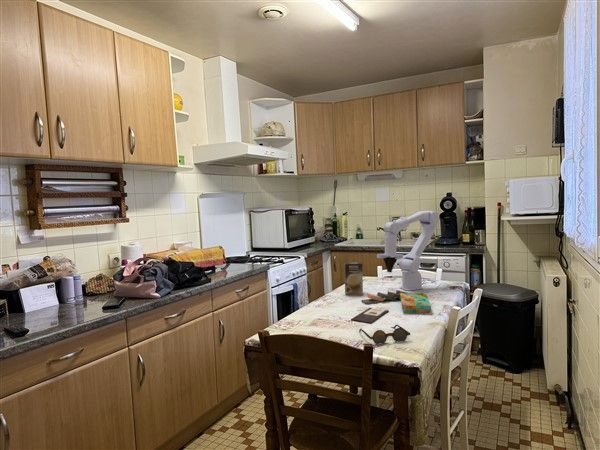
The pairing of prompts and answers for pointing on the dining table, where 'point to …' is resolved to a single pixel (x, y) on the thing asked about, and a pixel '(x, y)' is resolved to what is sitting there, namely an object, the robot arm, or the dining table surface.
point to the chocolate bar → (370, 315)
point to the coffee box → (353, 278)
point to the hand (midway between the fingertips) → (389, 272)
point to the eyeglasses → (381, 336)
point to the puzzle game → (415, 303)
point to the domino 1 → (374, 297)
